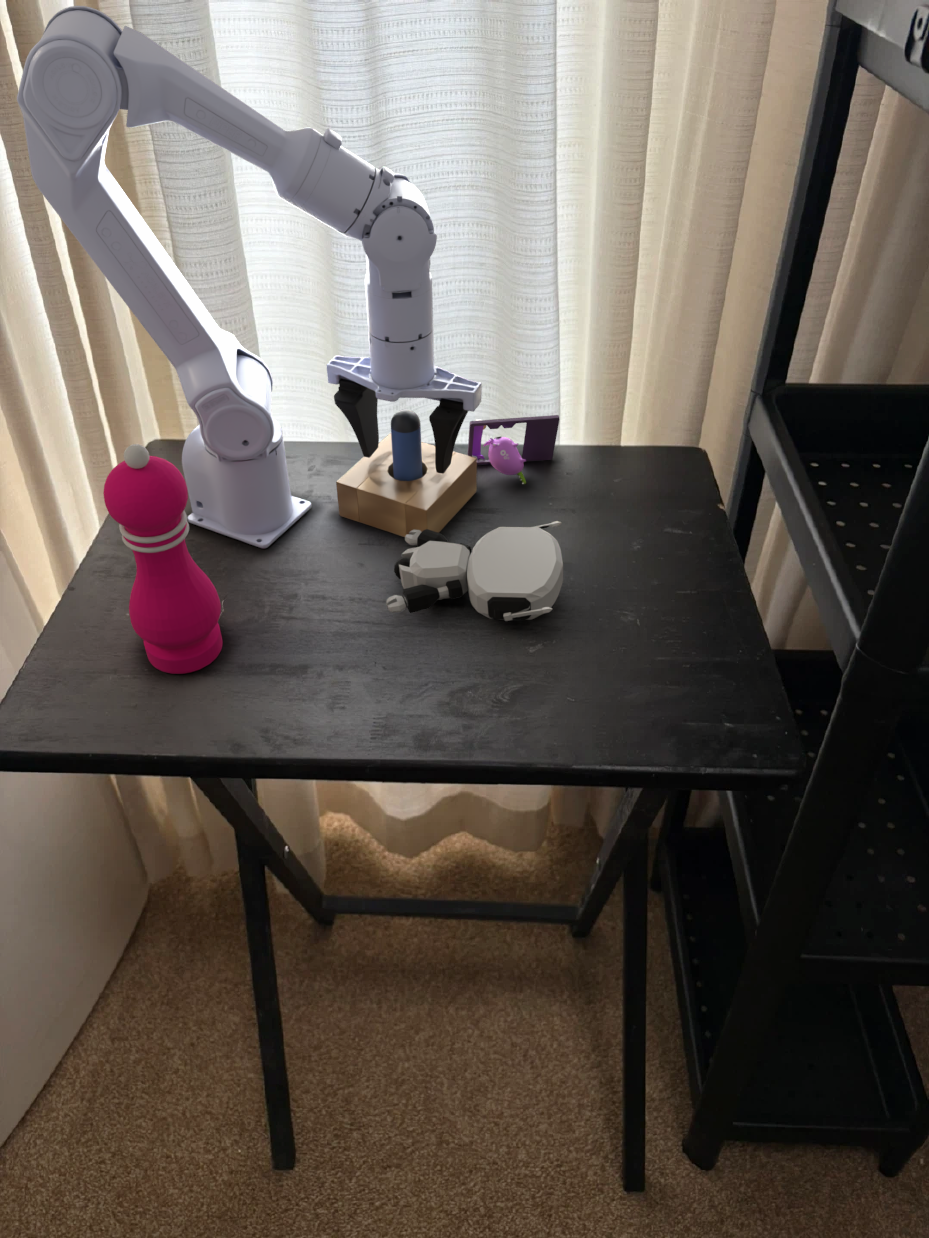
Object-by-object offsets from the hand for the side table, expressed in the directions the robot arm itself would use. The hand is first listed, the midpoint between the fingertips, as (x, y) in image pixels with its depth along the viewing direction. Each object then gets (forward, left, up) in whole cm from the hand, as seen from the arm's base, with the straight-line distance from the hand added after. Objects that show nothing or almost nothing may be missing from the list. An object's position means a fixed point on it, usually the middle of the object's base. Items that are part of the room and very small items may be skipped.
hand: (407, 459), depth 99 cm
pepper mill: (-6, -27, -5) cm, 28 cm away
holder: (0, 0, -5) cm, 5 cm away
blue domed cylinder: (0, 0, -5) cm, 5 cm away
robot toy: (+12, -9, -5) cm, 16 cm away
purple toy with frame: (+7, +10, -5) cm, 13 cm away
